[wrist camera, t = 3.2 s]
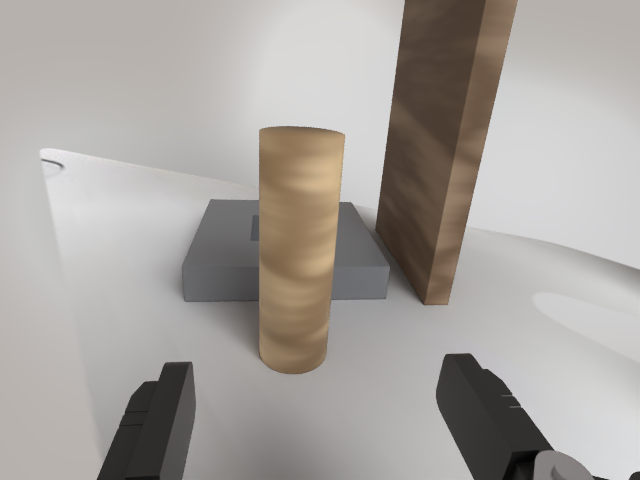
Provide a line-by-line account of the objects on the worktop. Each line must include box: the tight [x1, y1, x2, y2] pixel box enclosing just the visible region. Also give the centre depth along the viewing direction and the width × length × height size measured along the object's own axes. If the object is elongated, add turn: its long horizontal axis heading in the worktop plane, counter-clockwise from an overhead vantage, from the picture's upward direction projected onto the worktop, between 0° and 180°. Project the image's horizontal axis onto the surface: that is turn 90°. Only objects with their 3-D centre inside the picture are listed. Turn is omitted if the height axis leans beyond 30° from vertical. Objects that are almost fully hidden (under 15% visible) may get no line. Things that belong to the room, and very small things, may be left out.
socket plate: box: [182, 199, 390, 301], centre depth 38 cm, size 16×16×3 cm
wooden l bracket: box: [375, 0, 518, 305], centre depth 32 cm, size 22×16×28 cm
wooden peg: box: [259, 126, 345, 374], centre depth 23 cm, size 4×4×14 cm
